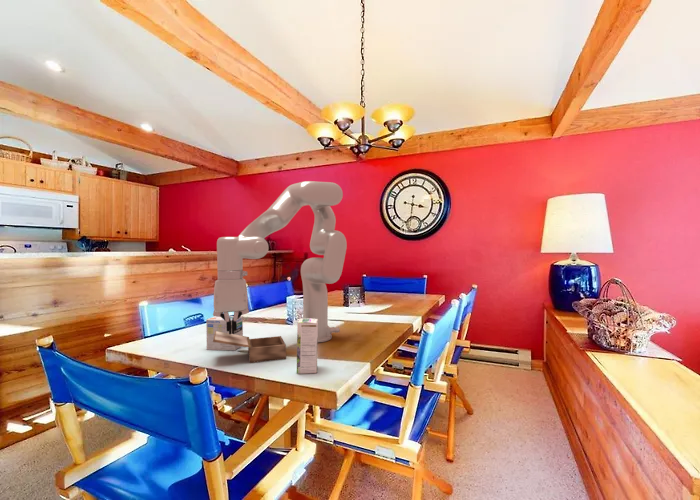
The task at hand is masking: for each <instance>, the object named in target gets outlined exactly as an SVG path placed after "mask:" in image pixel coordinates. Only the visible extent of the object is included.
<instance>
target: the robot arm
mask: <svg viewBox="0 0 700 500" xmlns="http://www.w3.org/2000/svg"><path fill="white" fill-rule="evenodd" d="M343 193H344V192H343V190H342V187H341V186H340V185H339V184H337V183H335V182H333V181H332V182H330V181H314V180H313V181H312V180H305V181H304V180H303V181H300V182H296V183H293V184H290V185H289V186H287V187H286V188H285V189H284V190H283V191H282V193H280V195H279V196H278V197H277V198H276V200H275V201H274V202H273V203H272V204H271V205H270V206H269V207H268V208H267V210H265V211H264V212H262V213H261V214H259V216H258V217H257V218H255V219H253V221H252V222H250V223H249V224H248V225H247V226H246V227H245V228H244V229H243V230H242V231H241V232H240V234H239V235H238V236H221V237H218V239H217V241H216V258H217V260H216V262H217V265H216V266H217V267H216V268H217V280H214V287H213V313H212V315H213V316H212V317H214V316H217V317H221V318H223V319H224V320H225V321H226V324H227V331H229V334H231V332H232V334H234V331H236V330H237V324H236V321H237V320H238V318H239V317H240V316H244V315H246V314H249V312H250V310H249V307H248V305H249V300H248V299H249V297H248V296H249V295H248V287H247V280H246V279H245V278H244V277H245V276H246V277H247V276H249V275H248V271H246V270H243V268H244V267H243V266H244V263H243V262H244V261H243V260H244V259H249V260H259V259H261V258H264V257H265V256H266V255H267V254H268V252H269V249H270V248H269V243H268V242H267V240H266V239H265V238H266V237H268V236H269V235H271V234H273V233H275V232H278V231H280V230H282V229H284V228H285V227H286V226H287V225H288V224H289V223H290V222H291V220H293V218H294V217H295V216H296V214H297V213H298V212H299V211H300V210H301V208H302V207H305V206H309V207H310V208H311V210H312V212H313V215H314V221H313V222H314V223H313V227H312V232H311V237H310V242H309V248H310V251H311V252H312V253H313V254H315V255H318V256H323V257H310V258H307V259H305V260H304V261H303V263H302V264H301V265H300V276H301V281H302V294H303V295H302V297H303V298H302V301H303V302H302V303H303V304H302V313H303V314H302V319H303V318H313V319H318V343H325V342H328V341H330V340H331V339H332V334H333V333H335V334H336V333H340V332H341V330H340V327H339V326H338V327H335V326H331V327H330V326H329V325H328V319H329V317H328V316H329V315H328V314H329V313H328V311H329V310H328V307H329V306H328V303H329V302H328V298H329V297H328V296H329V295H328V288H327V284H329V285H330V284H331V285H332V284H334V283H337V282H338V281H339V280H340V277H341V276H342V274H343V273H342V272H343V268H344V263H345V259H346V254H347V249H348V247H347V246H348V245H347V244H348V243H347V238H346V236H345V234H344V233H343V232H342V231H339V230H335V229H336V224H337V222H336V221H337V220H336V214H335V213H334V210H333V208H332V207H333V206H337V205H339V204H340V203H341V201H342V199H343V196H344V194H343ZM331 206H332V207H331ZM231 312H232V313H233V316H234V317H233V318H232V331H231V319H230V318H229V316H230V313H231Z"/></svg>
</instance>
